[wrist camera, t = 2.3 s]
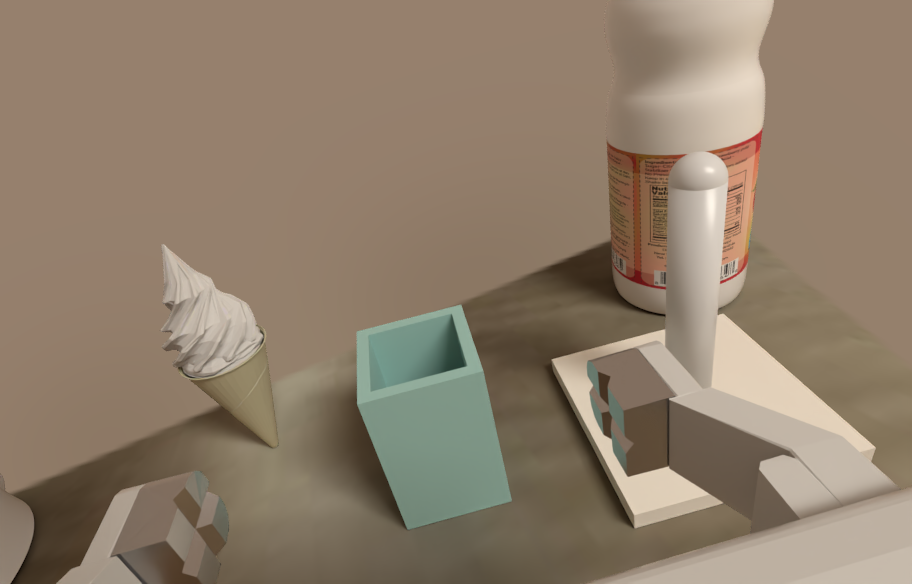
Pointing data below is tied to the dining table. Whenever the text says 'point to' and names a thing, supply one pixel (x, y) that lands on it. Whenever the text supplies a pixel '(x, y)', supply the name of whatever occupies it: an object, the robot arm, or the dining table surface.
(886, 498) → the robot arm
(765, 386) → the post stand
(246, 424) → the ice cream cone
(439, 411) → the sleeve
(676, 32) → the fruit juice
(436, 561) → the dining table surface
